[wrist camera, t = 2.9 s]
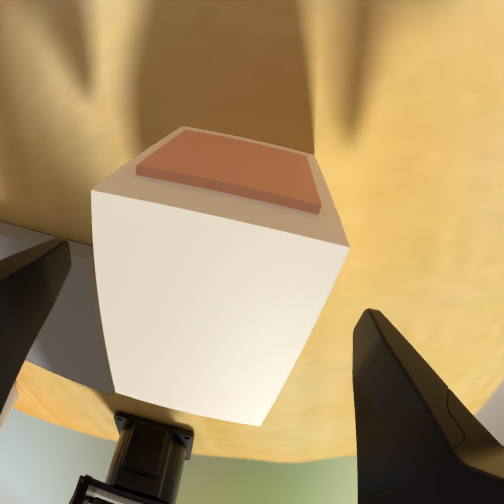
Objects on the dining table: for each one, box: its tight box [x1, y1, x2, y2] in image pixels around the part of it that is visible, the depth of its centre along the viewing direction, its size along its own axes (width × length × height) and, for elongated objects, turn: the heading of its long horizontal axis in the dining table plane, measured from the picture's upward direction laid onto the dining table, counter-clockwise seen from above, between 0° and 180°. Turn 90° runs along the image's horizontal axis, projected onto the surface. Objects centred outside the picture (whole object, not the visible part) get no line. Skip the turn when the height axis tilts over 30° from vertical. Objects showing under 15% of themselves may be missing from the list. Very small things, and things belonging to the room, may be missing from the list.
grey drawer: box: [0, 221, 115, 395], centre depth 14 cm, size 11×9×4 cm
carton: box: [91, 126, 350, 426], centre depth 9 cm, size 7×4×6 cm
